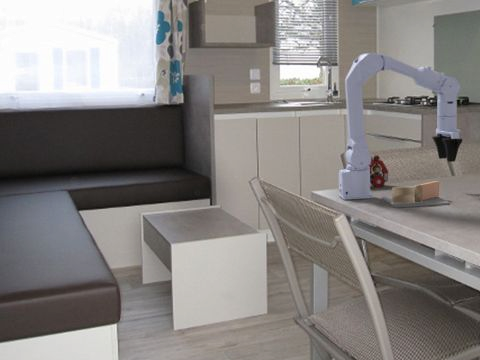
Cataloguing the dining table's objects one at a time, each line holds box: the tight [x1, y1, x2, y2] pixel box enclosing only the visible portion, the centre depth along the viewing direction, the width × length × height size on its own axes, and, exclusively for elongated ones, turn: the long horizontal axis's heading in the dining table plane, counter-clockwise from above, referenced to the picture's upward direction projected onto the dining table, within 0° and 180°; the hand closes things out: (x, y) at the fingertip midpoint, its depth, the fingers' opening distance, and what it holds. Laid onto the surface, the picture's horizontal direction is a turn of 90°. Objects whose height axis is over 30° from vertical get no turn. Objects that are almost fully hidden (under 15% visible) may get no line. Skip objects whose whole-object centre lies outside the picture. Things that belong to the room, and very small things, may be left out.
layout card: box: [381, 196, 451, 208], centre depth 209 cm, size 16×14×1 cm
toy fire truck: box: [368, 155, 389, 189], centre depth 237 cm, size 7×12×10 cm, turn 91°
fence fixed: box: [391, 184, 421, 203], centre depth 205 cm, size 8×2×5 cm, turn 93°
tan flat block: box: [418, 180, 440, 200], centre depth 208 cm, size 8×1×4 cm, turn 128°
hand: (447, 159), depth 220 cm, fingers open, 7 cm apart
